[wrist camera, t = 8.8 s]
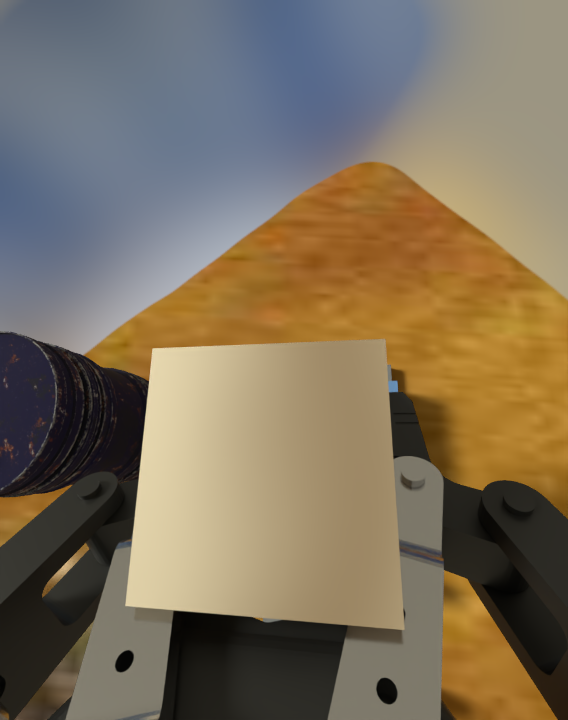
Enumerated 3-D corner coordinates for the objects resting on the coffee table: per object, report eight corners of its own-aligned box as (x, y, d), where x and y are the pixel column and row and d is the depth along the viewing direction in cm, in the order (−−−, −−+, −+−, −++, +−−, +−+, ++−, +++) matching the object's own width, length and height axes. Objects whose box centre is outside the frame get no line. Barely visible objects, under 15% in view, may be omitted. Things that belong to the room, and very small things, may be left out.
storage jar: (152, 359, 36) (-25, 274, 19) (198, 442, 33) (38, 429, 16) (71, 416, 36) (-180, 382, 19) (110, 503, 33) (-146, 557, 16)
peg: (275, 501, 17) (125, 606, 5) (276, 416, 18) (153, 348, 6) (362, 504, 16) (404, 629, 5) (358, 415, 17) (385, 339, 6)
